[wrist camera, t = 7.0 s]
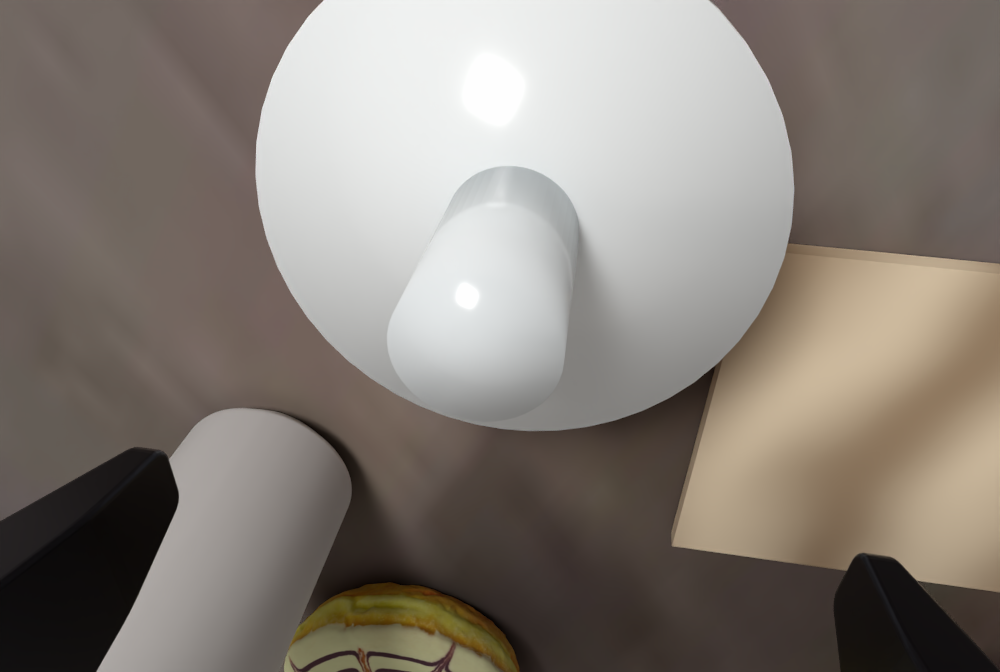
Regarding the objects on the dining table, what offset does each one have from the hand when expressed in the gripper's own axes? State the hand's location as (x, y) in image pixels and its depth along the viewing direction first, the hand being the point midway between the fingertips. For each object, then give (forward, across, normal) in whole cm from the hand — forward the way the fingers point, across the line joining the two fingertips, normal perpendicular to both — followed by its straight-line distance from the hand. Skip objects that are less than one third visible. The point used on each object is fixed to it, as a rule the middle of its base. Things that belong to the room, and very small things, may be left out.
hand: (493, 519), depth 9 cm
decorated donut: (+12, +5, +23) cm, 27 cm away
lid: (+8, +1, -1) cm, 8 cm away
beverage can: (+12, +10, +12) cm, 20 cm away
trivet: (+12, -11, +7) cm, 18 cm away
